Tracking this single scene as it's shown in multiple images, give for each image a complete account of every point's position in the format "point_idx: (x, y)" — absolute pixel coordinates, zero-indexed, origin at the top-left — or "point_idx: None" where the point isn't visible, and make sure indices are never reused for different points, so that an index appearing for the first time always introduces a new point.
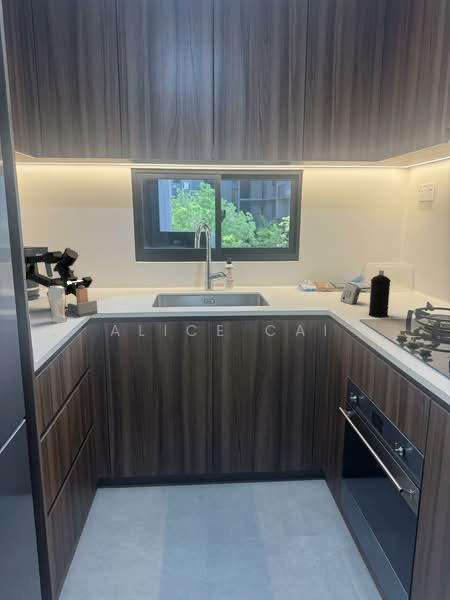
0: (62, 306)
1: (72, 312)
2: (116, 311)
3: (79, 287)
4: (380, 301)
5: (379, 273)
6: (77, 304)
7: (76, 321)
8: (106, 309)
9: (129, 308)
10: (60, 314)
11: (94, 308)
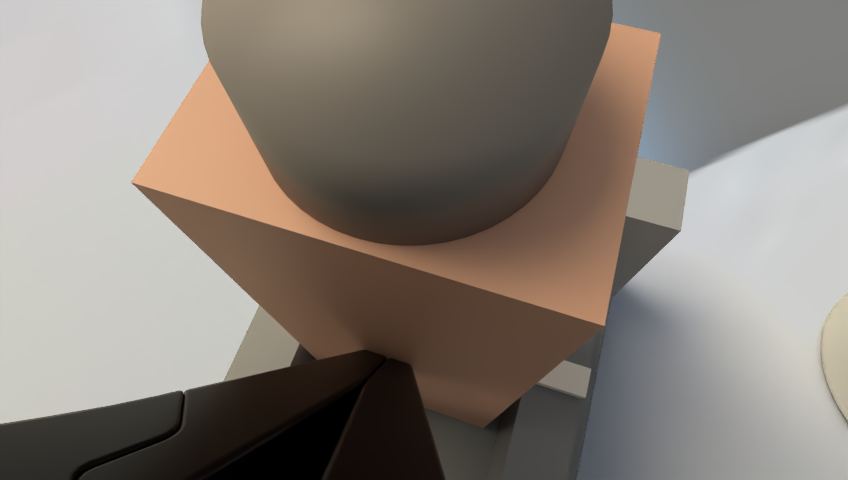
0: None
1: (577, 461)
2: (185, 68)
3: (587, 15)
4: None
5: None
6: (676, 221)
7: (774, 169)
8: (87, 235)
9: (13, 30)
10: None
11: None
